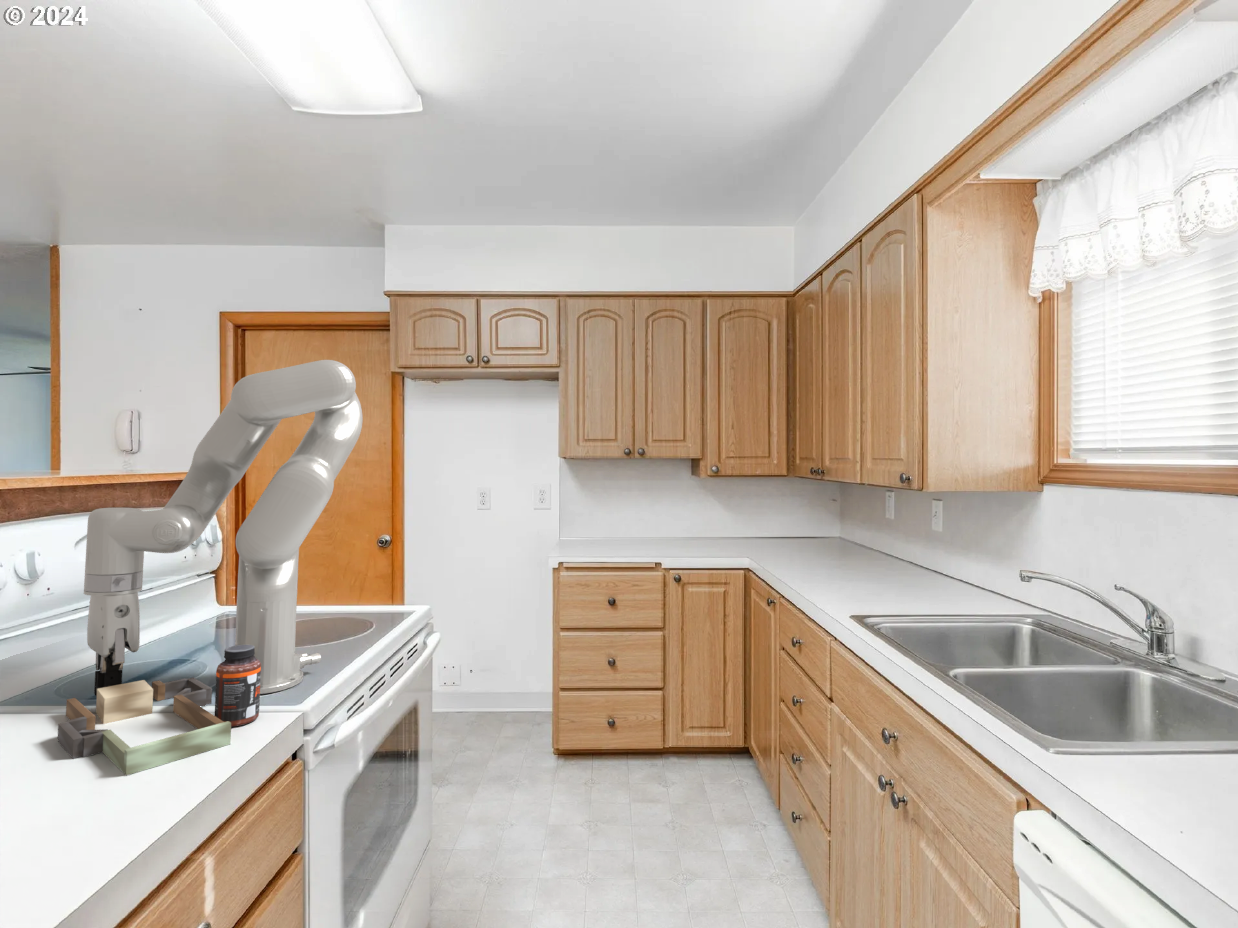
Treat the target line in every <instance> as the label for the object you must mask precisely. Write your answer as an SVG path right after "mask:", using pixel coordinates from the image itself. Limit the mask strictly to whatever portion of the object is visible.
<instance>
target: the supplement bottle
mask: <svg viewBox="0 0 1238 928" xmlns="http://www.w3.org/2000/svg"><path fill="white" fill-rule="evenodd" d="M223 654H224V655H223V658H224V661H221V662H220V663H219V664H218V665H217V667H216V671H215V673H216V674H215V675H216V676H215V693H214V714H213V715H214V716H215V717H217V718H219V719H220V720H222V721H223V722H227V721H229V722H230V723H231V728H234V727H235V728H236V727H240V726H245V725H247V724H250V723H253V722H254V721H255V720H256V719H257V718H258V717H259V715H260V701H261V700H260V698H261V694H260V680H261V679H260V678H261V663H260V661H259V660H258V659H256V658H255V656H254V654H255V647H254V646H253V645H236V646H235V645H233V646H231V645H230V646H228V647H226V648H225V649H224V653H223Z"/></svg>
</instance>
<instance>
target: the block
mask: <svg viewBox="0 0 1238 928" xmlns="http://www.w3.org/2000/svg"><path fill="white" fill-rule="evenodd" d="M95 702H96V706H95V707H96V709H95V714H96V715H97V716H98V718H99V720H100V721H101V723H102V724H103V725H106V724H110V723H114V722H118V721H119V722H120V721H124V720H128V719H134V718H137V717H142V716H143V717H144V716H146V715H151V714H153V705H154V698H153V688H152V685H150V684H149V683H148V682H147V681H146V680H145V679H141V680H137V681H131V682H127V683H126V682H125V683H122V684H119V685H114V686H109V687H103V688H98V689H97V696H96V701H95Z"/></svg>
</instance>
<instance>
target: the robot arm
mask: <svg viewBox="0 0 1238 928" xmlns="http://www.w3.org/2000/svg"><path fill="white" fill-rule="evenodd" d="M356 389H357V383H356V377H355V375H354V373H353V372H352V370H351V369H350V368H349V367H348V366H347V365H345V364H344V363H342V362H340V361H338V360H334V359H321V360H320V359H319V360H315V361H309V362H305V363H301V364H296V365H292V366H291V365H290V366H287V367H283V368H282V367H281V368H276V369H271V370H268V371H267V370H266V371H261V372H256V373H253V374H248V375H246V376H244V377H242V378H240V380H238V381H237V382H236V383H235V385H234V386H233V388H232V391H231V393H230V400H229V401H228V402H227V404H226V405H225V407H224V409H223V410H222V412H221V413H220V414H219V416H218V417H217V419H216V420H215V421H214V422H213V424H212V426H211V427H210V428H209V430H208V431H207V432H206V434H205V435H204V436H203V438H202V439H201V440H200V442H198V445H197V446H196V449H195V450H194V453H193V456H192V460H191V465H190V467H189V469H188V472H187V473H186V475H185V476H184V478H183V480H182V481H181V483H180V484H179V486H178V487H177V489H176V490H175V492H174V493H173V495H172V496H171V497H170V499H169V500H168V501H167V503H166V504H165V506H163V508H162V509H155V510H142V509H139V508H134V507H103V508H102V507H101V508H96V509H93V510H92V511H91V512H90V513H89V515H88V516H87V517H88V518H87V528H86V529H87V530H86V545H85V546H86V547H85V564H84V567H85V568H84V581H83V582H84V584H83V594H84V595H86V596H90V597H89V598H90V599H89V608H88V616H87V628H86V633H87V634H86V640H87V646H88V648H89V649H90V650H92V651H94V653H95V672H94V673H95V674H94V690H93V691H94V692H93V694H94V696H96V697H97V689H98V688H103V687H109V686H114V685H119V684H123V671H124V669H123V667H124V664H125V661H126V659H125V658H126V657H125V649H126V650H128V651H129V652H131V653H137V652H138V651H139V649H140V645H141V644H140V641H141V639H140V632H141V630H140V629H141V628H140V627H141V626H140V625H141V622H140V620H141V619H140V616H141V615H140V599H139V592H142V591H143V581H144V579H143V578H144V563H145V562H144V560H145V559H144V558H145V552H147V553H155V554H157V553H158V554H174V553H179V552H182V551H184V550H185V549H188V547H190V546H191V545H192V544H194V542H195V541H197V540H198V539H199V538H200V537H201V536H202V534H203V532H204V531H205V530H206V528H207V527H208V525H209V524H210V523H211V521H212V519H213V518H214V516H215V515H216V514H217V512H218V511H219V510H220V508H221V506H222V505H223V503H224V502H225V500H226V499H227V497H228V496H229V494H230V493H231V492H232V491H233V489H234V488H235V486H237V484H238V483H239V482H240V481H241V479H242V478H243V477H244V475H245V473H246V472H247V470H248V469H249V468H250V467H251V465H252V463H253V462H254V460H255V459H256V457H257V456H258V454H259V453H260V451H261V450H262V448H263V447H264V446H265V444H266V442H267V441H268V440H269V438H270V437H271V436H272V434H273V433H274V431H275V430H276V428H277V427H278V426H279V424H280V423H281V421H282V419H283V420H284V419H289V418H293V417H297V416H301V415H305V414H311V413H314V418H313V421H312V422H311V425H310V426H309V428H308V429H307V431H306V432H305V434H304V436H303V438H302V439H301V441H300V442H299V444H298V446H297V447H296V449H295V450H294V452H293V453H292V455H291V456H290V457H289V458H288V460H287V461H286V462H284V463H283V464H282V465H281V466H280V467H279V468H278V469H277V471H276V472H275V474H274V475H273V477H272V478H271V480H270V481H269V483H268V485H267V486H266V488H265V489H264V491H263V492H262V494H261V495H260V497H259V498H258V500H257V501H256V503H255V504H254V506H253V507H252V509H251V511H250V512H249V514H248V515H247V517H246V518H245V519H244V521H243V522H242V524H241V525H240V527H239V528H238V530H237V533H236V536H235V548H236V551H237V554H238V569H237V570H238V571H237V572H238V573H237V587H236V589H237V590H236V591H237V593H236V594H237V595H236V609H235V610H236V611H235V613H236V614H235V634H234V635H235V637H234V638H235V639H234V643H235V644H234V646H236V645H253V646H254V647H255V654H254V656H255V658H256V659H258V660H259V661H260V663H261V678H260V679H261V680H260V695H264V694H265V695H266V694H271V693H277V692H279V691H283V690H288V689H291V688H293V687H295V686H298V684H300V683H301V682H302V681H303V679H304V672H303V670H302V669H304V668H305V666H313V665H317V664H319V663H321V661H322V656H321V654H320V652H316V653H315V652H314V653H311V654H307V652H303V653H296V652H295V651H296V631H297V630H296V628H297V627H296V626H297V624H296V623H297V603H298V601H297V600H298V580H299V556H300V547H301V545H302V544H303V542H304V541H305V539H306V538H307V536H308V534H309V533H310V531H311V530H312V529H313V527H314V525H315V524H316V522H317V521H318V519H319V517H320V516H321V514H322V512H323V511H324V510H325V508H326V506H327V504H328V502H329V501H330V499H331V497H332V495H333V491H334V488H335V480H336V478H337V477H338V475H339V474H340V472H341V470H342V469H343V467H344V466H345V464H346V461H347V460H348V458H349V456H350V455H351V453H352V452H353V449H354V448H355V446H356V445H357V442H358V440H359V438H360V435H361V433H362V429H363V422H364V419H363V410H362V404H361V402H360V399H359V397H358V395H357V393H356Z"/></svg>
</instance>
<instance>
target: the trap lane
mask: <svg viewBox="0 0 1238 928" xmlns="http://www.w3.org/2000/svg"><path fill="white" fill-rule="evenodd" d="M151 687H152V688H153V700H155V701H157V702H160V701H163V700H168V699H172V698H173V705H172V706H173V707H172V712H173V713H174V714H175V715H177V716H178V717H180V718H181V719H182V720H184V721H186V722H187V723H188V724H190V725H192V726H193V727H194V728H195V729H193V730H191V731H188V732H183V733H179V734H176V735H173V736H169V737H166V738H161V739H157V740H154V741H151V742H148V743H147V742H146V743H143V744H140V745H135V746H133V747H130V745H129V744H127V743H126V742H125V741H124V740H122V738H121V737H119V736H118V735H117V733H115V732H114V731H113V730H112V729H104V728H103V729H96V718H97V717H96V715H95V714H93V713H92V711H90V709H88V708H87V707H86V706H85V705H84V704H83V703H81V702H80V701H79V700H78V699H77V698H76V697H72V698H68V699H66V703H65V704H66V705H65V706H66V707H65V710H66V711H65V717H66V718H67V719H68V720H66V721H65V722H59V723H58V724H57V725H58V726H57V743H58V744H59V745H60V746H61V748H63V749H64V751H66V753H67V754H68V755H69V756H70V757H71V758H72V759H73V760H74V759H77V758H80V757H83V758H86V757H90V756H94V755H97V754H102V753H103V754H104V755H105V756H106V757H107V758H108V759H109V761H111V762H112V763H113V764H114V765H115V766H116V767H117V769H119V770H120V771H121V772H122V773H123V774H124V775H125V776H130V775H132V774H137V773H140V772H142V771H146V770H149V769H153V768H155V767H159V766H162V765H165V764H168V763H169V764H170V763H172V762H176V761H179V760H182V759H185V758H189V757H193V756H195V755H199V754H202V753H206V752H209V751H212V750H216V749H219V748H222V747H225V746H228V745H231V737H232V736H231V734H232V727H231V723H230V722H229V721H227V722H223V721H222V720H220V719H219V718H217V717H215V716H214V715H215V714H213V713H212V712H209V711H207V710H206V709H204V708H203V707H200V706H204V707H206V706H208V705H210V704H211V705H212V700H213V699H212V698H213V695H212V694H213V688H212V687H211V686H209V685H207V684H205V683H204V682H202V681H200V680H199V679H197V678H195V677H190V678H189V677H188V678H186V677H185V678H180V679H176V680H171V681H167V682H162V681H161V680H154V681H152V682H151ZM205 705H206V706H205Z"/></svg>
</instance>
